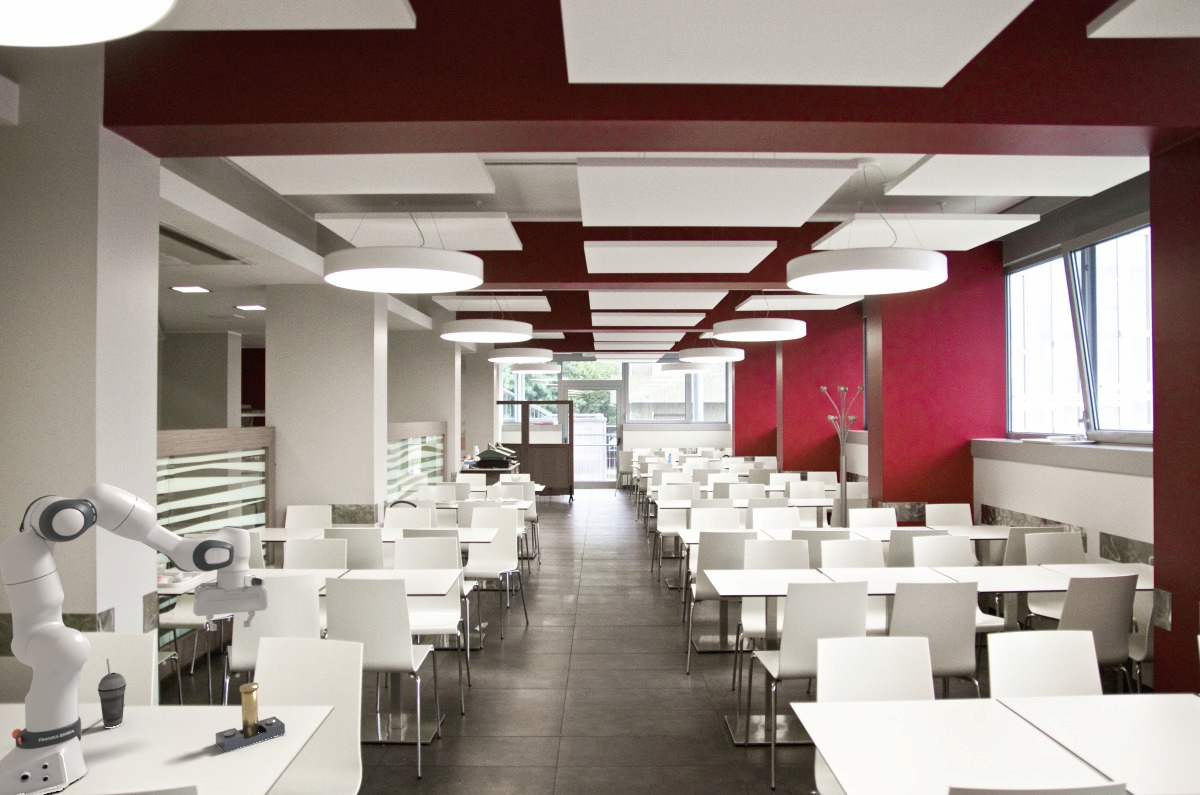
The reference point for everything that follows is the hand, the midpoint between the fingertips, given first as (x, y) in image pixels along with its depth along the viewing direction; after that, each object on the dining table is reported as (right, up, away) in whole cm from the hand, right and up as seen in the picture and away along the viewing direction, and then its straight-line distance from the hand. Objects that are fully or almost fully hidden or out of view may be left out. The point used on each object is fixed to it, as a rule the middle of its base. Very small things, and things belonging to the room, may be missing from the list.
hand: (230, 628), depth 229 cm
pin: (+12, -27, -12) cm, 32 cm away
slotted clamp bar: (+12, -27, -12) cm, 32 cm away
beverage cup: (-36, -30, +1) cm, 46 cm away
